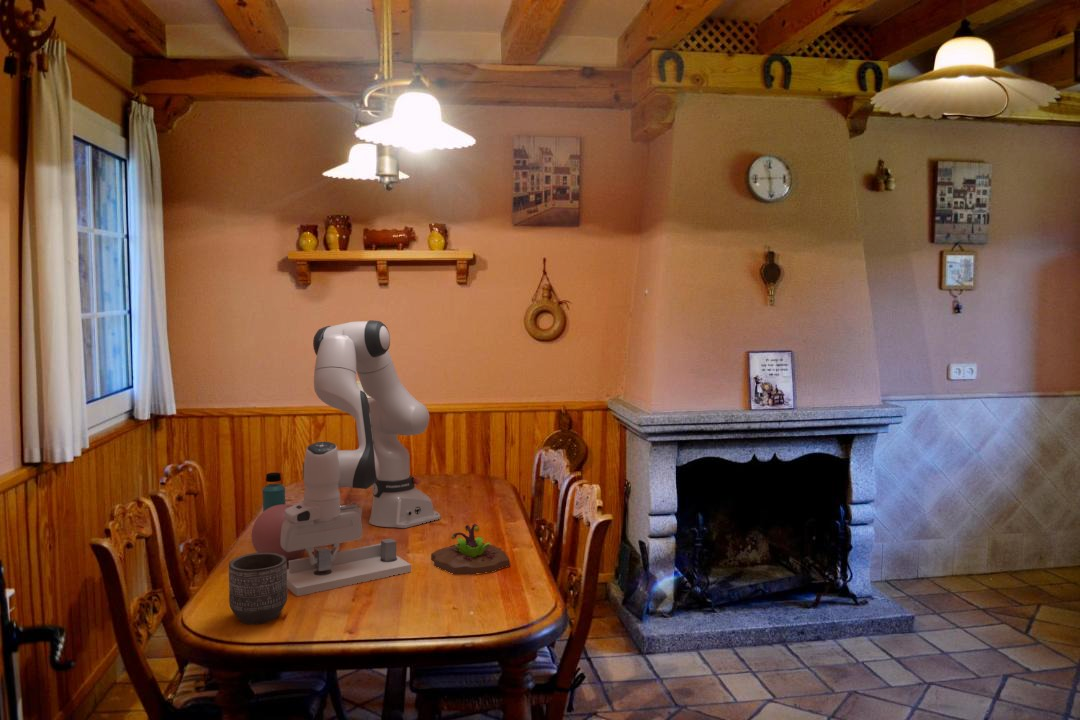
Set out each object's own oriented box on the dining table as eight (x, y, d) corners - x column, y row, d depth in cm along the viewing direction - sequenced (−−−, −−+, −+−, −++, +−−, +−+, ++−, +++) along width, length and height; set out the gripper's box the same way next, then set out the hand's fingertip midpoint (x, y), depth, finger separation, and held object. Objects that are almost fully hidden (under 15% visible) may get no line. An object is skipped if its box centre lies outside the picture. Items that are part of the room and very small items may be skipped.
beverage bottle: (279, 545, 229) (278, 476, 227) (258, 543, 230) (257, 475, 228) (290, 538, 235) (290, 471, 233) (270, 537, 236) (269, 470, 235)
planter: (252, 603, 186) (251, 549, 185) (298, 610, 183) (297, 555, 182) (217, 624, 175) (216, 566, 174) (265, 631, 171) (264, 573, 170)
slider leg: (324, 565, 205) (324, 544, 205) (330, 570, 201) (330, 549, 201) (312, 567, 203) (312, 547, 203) (319, 573, 200) (318, 551, 199)
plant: (453, 581, 203) (453, 538, 202) (422, 558, 220) (422, 518, 219) (521, 568, 214) (522, 527, 213) (487, 547, 230) (488, 509, 229)
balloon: (318, 572, 207) (317, 514, 206) (242, 570, 208) (241, 512, 207) (336, 553, 222) (336, 499, 221) (265, 551, 223) (264, 497, 222)
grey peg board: (387, 557, 220) (387, 532, 219) (411, 572, 208) (411, 545, 208) (278, 579, 202) (277, 551, 202) (297, 596, 191) (296, 567, 190)
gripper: (356, 499, 209) (356, 551, 210) (277, 511, 197) (278, 566, 198) (366, 505, 204) (366, 558, 205) (286, 517, 192) (287, 573, 193)
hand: (322, 562), depth 201 cm, fingers closed on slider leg, 3 cm apart
